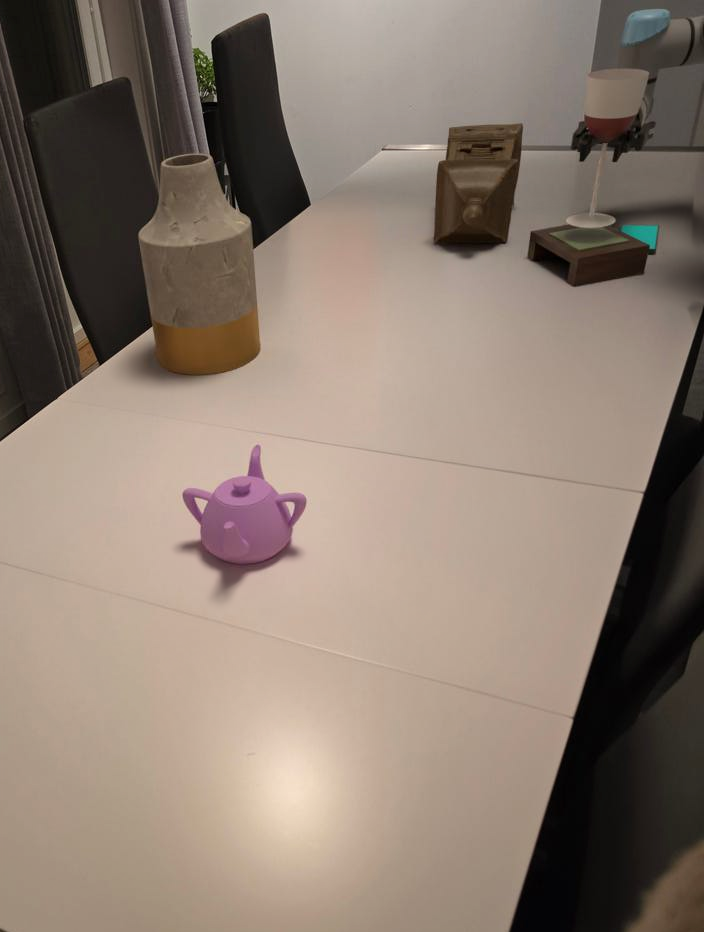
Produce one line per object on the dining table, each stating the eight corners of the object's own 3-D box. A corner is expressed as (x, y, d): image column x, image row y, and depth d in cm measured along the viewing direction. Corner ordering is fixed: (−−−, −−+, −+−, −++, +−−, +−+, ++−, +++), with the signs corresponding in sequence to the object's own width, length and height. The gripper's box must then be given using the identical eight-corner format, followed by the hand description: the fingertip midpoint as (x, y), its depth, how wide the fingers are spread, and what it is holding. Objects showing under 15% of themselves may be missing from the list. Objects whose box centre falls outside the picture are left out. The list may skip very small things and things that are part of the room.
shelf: (643, 273, 155) (650, 243, 152) (573, 286, 154) (578, 257, 150) (591, 245, 168) (597, 218, 165) (526, 257, 167) (530, 229, 164)
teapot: (262, 502, 110) (258, 442, 104) (319, 553, 101) (317, 490, 95) (182, 532, 107) (172, 472, 101) (232, 588, 97) (225, 525, 91)
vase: (163, 382, 141) (131, 183, 121) (153, 340, 155) (123, 156, 134) (269, 364, 142) (256, 164, 122) (250, 325, 156) (235, 139, 135)
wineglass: (590, 232, 151) (618, 82, 136) (552, 219, 158) (575, 75, 143) (629, 221, 154) (662, 72, 138) (590, 209, 161) (617, 66, 145)
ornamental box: (503, 272, 170) (529, 172, 156) (416, 260, 173) (434, 162, 160) (511, 214, 193) (534, 124, 180) (434, 206, 197) (451, 116, 183)
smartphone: (659, 224, 171) (656, 249, 161) (658, 229, 171) (655, 253, 161) (620, 224, 173) (615, 248, 163) (619, 228, 174) (614, 252, 164)
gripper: (667, 143, 158) (649, 178, 143) (569, 143, 165) (542, 176, 150) (677, 97, 153) (660, 128, 138) (576, 98, 160) (549, 128, 145)
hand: (599, 153), depth 144 cm, fingers closed on wineglass, 5 cm apart
